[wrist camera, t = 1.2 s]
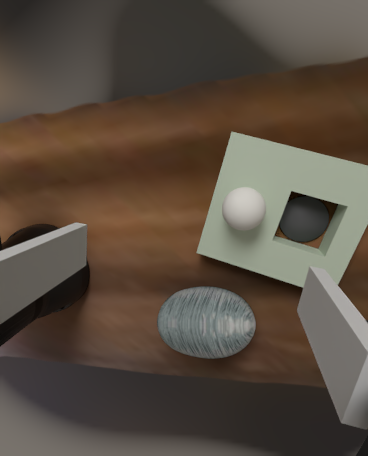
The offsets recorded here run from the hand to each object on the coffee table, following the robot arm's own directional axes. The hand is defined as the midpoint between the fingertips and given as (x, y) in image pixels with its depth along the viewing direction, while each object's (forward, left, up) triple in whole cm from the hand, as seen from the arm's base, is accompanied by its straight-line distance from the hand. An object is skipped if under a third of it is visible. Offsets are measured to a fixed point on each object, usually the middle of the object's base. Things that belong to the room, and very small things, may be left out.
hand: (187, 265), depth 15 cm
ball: (+3, +1, -17) cm, 17 cm away
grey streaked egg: (+3, -16, -22) cm, 28 cm away
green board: (+8, +1, -22) cm, 23 cm away
